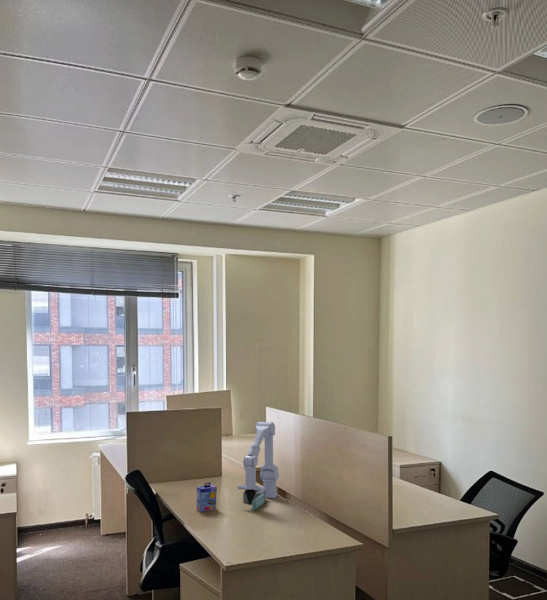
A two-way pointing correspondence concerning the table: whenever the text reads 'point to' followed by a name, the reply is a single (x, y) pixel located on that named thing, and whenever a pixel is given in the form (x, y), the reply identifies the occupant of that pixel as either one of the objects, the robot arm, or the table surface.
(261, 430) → the robot arm
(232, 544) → the table surface
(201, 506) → the ink cartridge box
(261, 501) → the door
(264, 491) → the block
